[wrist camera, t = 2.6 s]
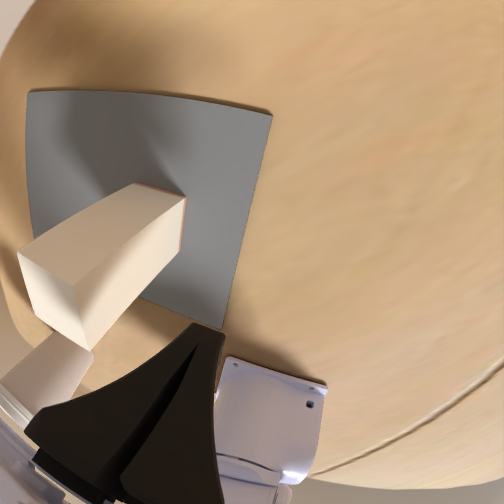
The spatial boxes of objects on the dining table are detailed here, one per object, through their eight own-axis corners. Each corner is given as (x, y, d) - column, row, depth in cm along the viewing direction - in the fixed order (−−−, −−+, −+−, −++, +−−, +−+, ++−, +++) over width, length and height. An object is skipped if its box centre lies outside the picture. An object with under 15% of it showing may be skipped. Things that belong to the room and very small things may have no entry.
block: (186, 196, 18) (73, 285, 9) (180, 250, 20) (89, 351, 11) (135, 182, 18) (16, 251, 10) (133, 233, 20) (35, 315, 12)
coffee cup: (113, 377, 34) (58, 458, 21) (69, 357, 36) (16, 424, 23) (86, 325, 29) (10, 415, 16) (43, 309, 31) (-24, 378, 19)
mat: (273, 115, 14) (272, 116, 14) (222, 326, 23) (220, 329, 22) (31, 91, 17) (27, 92, 16) (37, 242, 25) (35, 244, 25)
